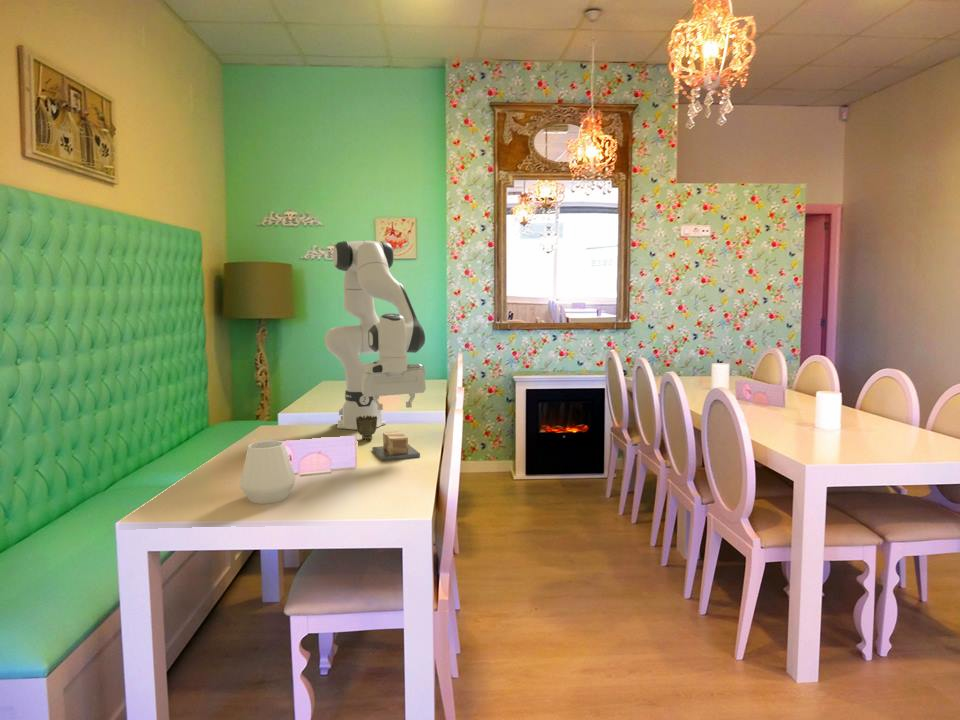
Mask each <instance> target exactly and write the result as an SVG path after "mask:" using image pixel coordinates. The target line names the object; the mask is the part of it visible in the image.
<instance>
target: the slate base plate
mask: <svg viewBox="0 0 960 720" xmlns="http://www.w3.org/2000/svg"><path fill="white" fill-rule="evenodd" d="M371 451H372V452H373V453H374V455H376V456H377V458H379V459H380V460H381V461H382V462H387V461H388V462H389V461H396V460H405V459H406V460H407V459H414V458H421V453H420V452H419V451H418V450H417V449H415V448H414V447H412V446H411V445H410V444H409V443H408V453H403V454H393V455H391V454H390V453H389V452H388V451H386V450H385V449H384V448H383V445H382V446H381V445H380V446H373V447H372V448H371Z"/></svg>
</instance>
